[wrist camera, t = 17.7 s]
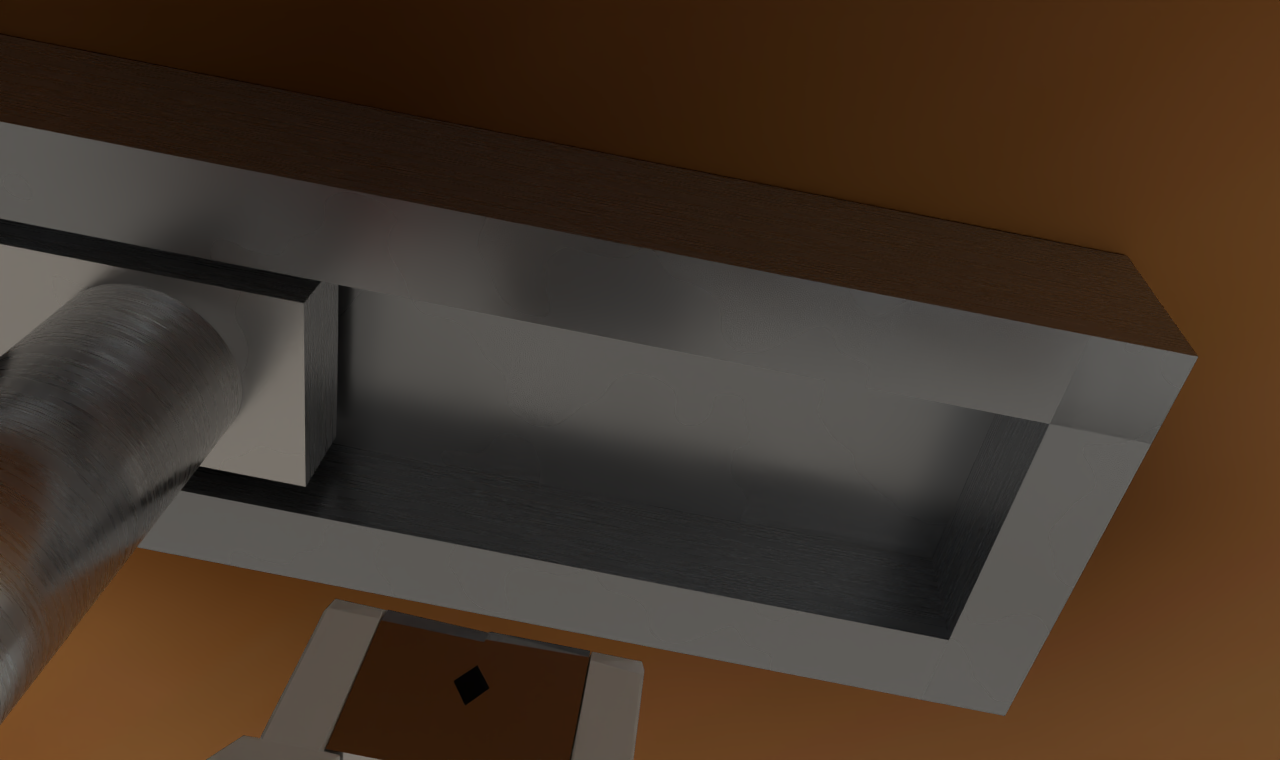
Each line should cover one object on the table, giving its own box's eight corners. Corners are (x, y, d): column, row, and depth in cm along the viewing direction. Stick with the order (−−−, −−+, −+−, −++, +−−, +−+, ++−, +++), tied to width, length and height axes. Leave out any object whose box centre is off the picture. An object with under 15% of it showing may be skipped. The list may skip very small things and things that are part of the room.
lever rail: (-78, 19, 13) (-242, 73, 11) (1126, 256, 14) (1197, 357, 11) (-1, 397, 17) (-117, 498, 14) (973, 587, 17) (1004, 715, 15)
